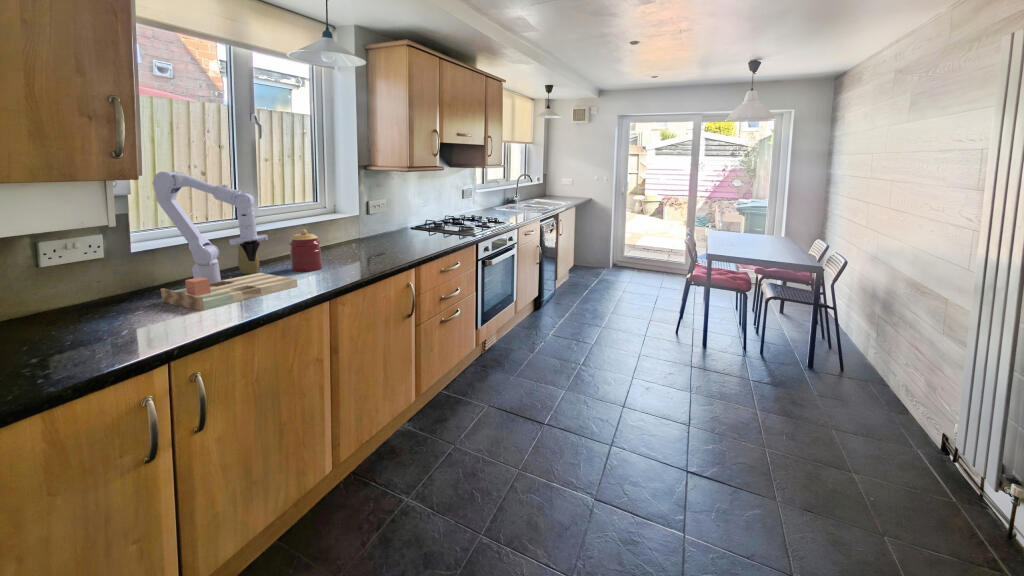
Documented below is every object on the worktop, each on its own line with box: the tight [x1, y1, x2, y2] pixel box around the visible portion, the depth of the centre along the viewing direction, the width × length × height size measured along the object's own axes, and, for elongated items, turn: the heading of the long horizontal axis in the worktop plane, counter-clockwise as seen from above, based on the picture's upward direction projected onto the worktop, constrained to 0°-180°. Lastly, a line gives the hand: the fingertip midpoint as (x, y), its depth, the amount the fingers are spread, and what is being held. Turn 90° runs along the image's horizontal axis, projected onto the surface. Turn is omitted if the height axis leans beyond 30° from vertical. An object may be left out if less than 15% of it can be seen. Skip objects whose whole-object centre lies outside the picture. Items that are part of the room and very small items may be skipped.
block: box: [184, 277, 211, 296], centre depth 168 cm, size 5×5×5 cm
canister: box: [288, 229, 323, 273], centre depth 220 cm, size 13×13×18 cm
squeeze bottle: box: [237, 240, 260, 275], centre depth 211 cm, size 8×8×18 cm
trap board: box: [160, 272, 299, 312], centre depth 180 cm, size 22×37×4 cm, turn 152°
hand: (251, 260), depth 192 cm, fingers closed
